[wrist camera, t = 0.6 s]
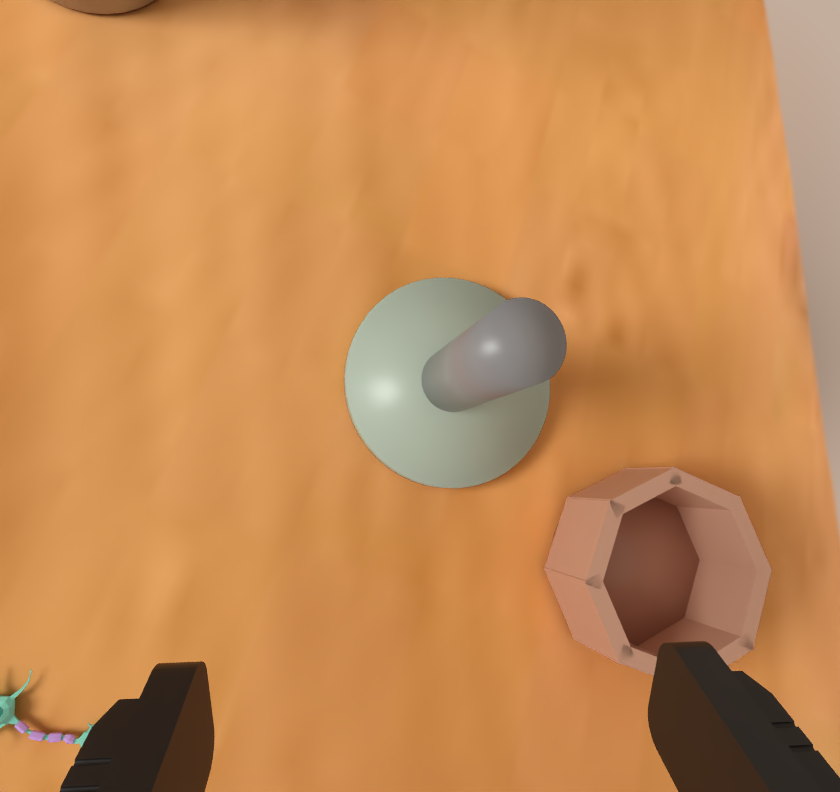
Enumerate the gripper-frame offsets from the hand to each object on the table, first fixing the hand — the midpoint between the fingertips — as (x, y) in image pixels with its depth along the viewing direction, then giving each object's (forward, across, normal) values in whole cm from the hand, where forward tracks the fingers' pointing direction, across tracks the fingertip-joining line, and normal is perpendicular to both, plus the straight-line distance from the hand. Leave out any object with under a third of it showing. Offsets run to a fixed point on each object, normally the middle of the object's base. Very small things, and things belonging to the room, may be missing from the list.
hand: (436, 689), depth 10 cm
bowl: (+21, -14, +12) cm, 28 cm away
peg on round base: (+24, -3, +2) cm, 25 cm away
